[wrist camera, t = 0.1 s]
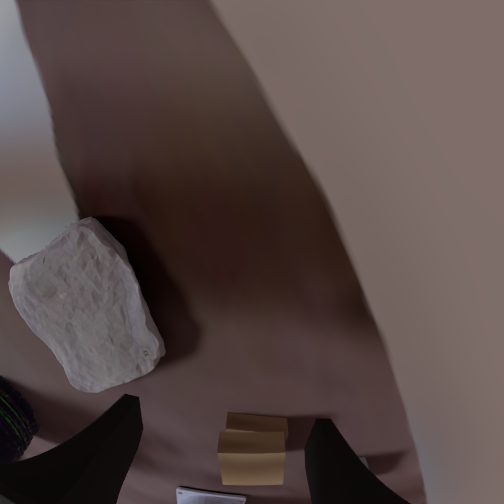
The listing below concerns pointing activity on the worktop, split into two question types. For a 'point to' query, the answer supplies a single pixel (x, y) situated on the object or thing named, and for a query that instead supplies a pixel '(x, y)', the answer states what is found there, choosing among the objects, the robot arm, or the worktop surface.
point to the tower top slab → (251, 458)
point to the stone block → (88, 307)
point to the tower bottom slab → (256, 424)
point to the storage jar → (15, 423)
